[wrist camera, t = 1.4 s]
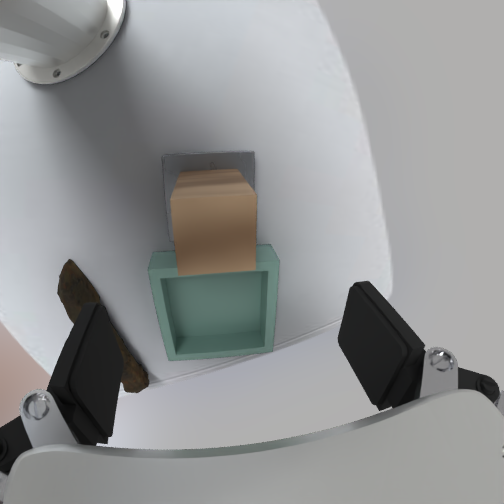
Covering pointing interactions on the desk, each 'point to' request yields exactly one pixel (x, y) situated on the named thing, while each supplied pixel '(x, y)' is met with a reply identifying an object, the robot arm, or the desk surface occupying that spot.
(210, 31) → the desk surface
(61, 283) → the hand tool
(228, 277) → the bin
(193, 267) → the brown wooden block
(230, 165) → the stud base
